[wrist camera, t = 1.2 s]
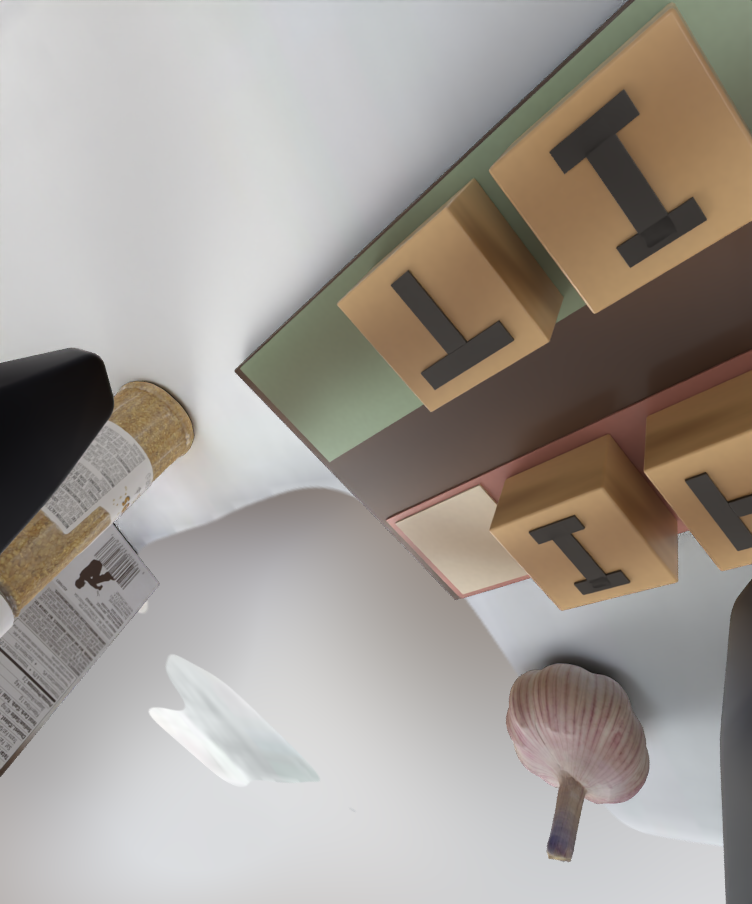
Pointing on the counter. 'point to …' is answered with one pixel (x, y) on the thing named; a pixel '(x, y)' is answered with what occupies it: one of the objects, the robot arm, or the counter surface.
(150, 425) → the sprinkles bottle
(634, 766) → the garlic bulb
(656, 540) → the tile
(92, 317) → the counter surface
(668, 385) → the letter board
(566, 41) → the counter surface
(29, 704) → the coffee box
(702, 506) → the tile
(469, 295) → the tile
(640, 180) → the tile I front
